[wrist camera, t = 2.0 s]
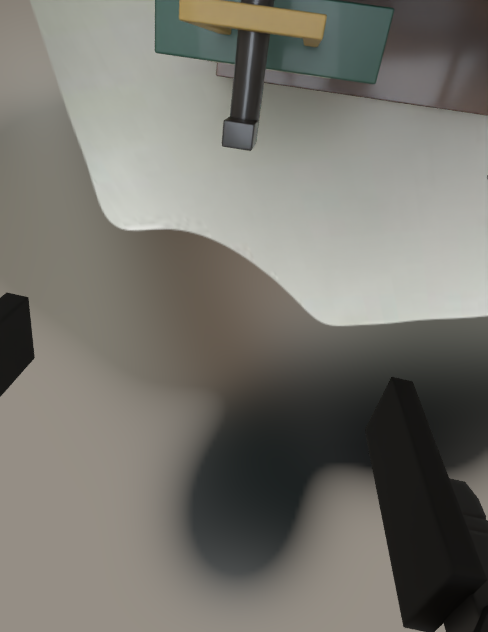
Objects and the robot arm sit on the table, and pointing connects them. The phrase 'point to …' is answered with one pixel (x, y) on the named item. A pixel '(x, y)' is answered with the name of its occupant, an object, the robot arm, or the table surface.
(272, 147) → the table surface
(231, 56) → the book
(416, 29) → the hook rack
